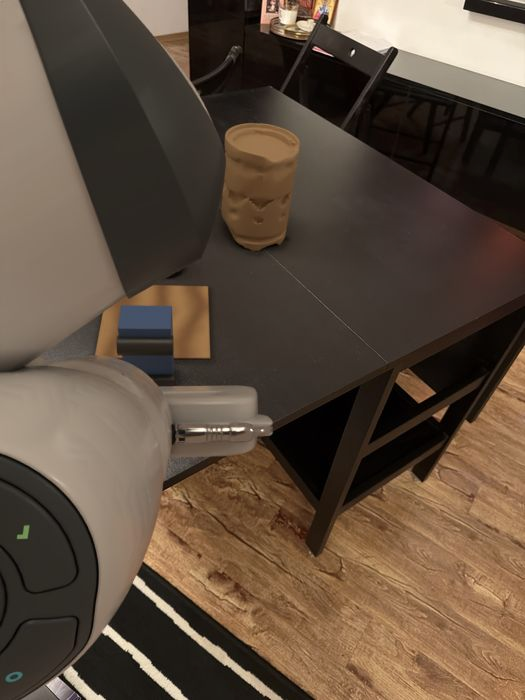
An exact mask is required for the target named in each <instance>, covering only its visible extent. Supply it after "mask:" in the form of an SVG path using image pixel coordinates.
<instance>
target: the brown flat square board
mask: <svg viewBox="0 0 525 700" xmlns="http://www.w3.org/2000/svg"><path fill="white" fill-rule="evenodd" d="M121 305H141V306H172V320H173V339H174V360H210V359H211V341H210V340H211V338H210V337H211V336H210V304H209V286H208V285H171V284H170V285H169V284H167V285H166V284H164V285H163V284H155V285H153V286H151V287H149V288H147V289H146V290H144V291H142V292H140V293H139V294H137V295H135V296H133V297H132V298H130V299H128V297H127V296H126V297H124V298H123V299H121V300H120V301H119V302H117V303H116V304H114V305H113V306H111V307H110V308H109V309H107V310H106V311H104V312H103V313H102V316H101V322H100V326H99V327H100V328H99V331H98V338H97V342H96V347H95V353H94V355H99V356H108V357H113V358H117V359H120V360H123V359H122V355H118V354H117V347H116V343H117V336H118V335H119V334H118V323H119V316H120V309H121Z"/></svg>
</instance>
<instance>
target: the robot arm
mask: <svg viewBox="0 0 525 700" xmlns="http://www.w3.org/2000/svg"><path fill="white" fill-rule="evenodd" d="M225 153H226V151H225V147H224V145H223V143H222V141H221V138H220V136H219V133H218V131H217V129H216V127H215V125H214V122H213V120H212V118H211V116H210V113H209V111H208V109H207V107H206V105H205V102H204V101H203V99H202V98H201V95H200V94H199V91H198V90H197V88H196V87H195V85H194V84H193V83H192V81H191V80H190V77H189V76H188V75H187V74H186V72H185V71H184V70H183V68H182V67H181V66H180V64H179V63H178V61H177V60H176V59H175V58H174V57H173V56H172V54H171V53H170V52H169V51H168V50H167V49H166V48H165V47H164V45H163V44H162V43H161V42H160V41H159V40H158V39H157V38H156V37H155V36H154V35H153V33H152V32H151V31H150V30H149V29H148V27H147V26H146V25H145V23H143V21H142V20H141V19H140V18H139V17H138V16H137V15H136V13H135V12H134V11H133V10H132V9H131V8H130V6H129V5H128V4H127V3H126V2H125V0H0V700H24V699H25V698H27V697H28V696H30V695H32V694H34V693H35V692H37V691H38V690H40V689H41V688H44V687H45V686H47V685H48V684H50V683H51V682H53V681H54V680H55V679H57V678H58V677H59V676H61V675H62V674H64V673H65V672H66V671H67V670H68V669H70V668H71V667H72V666H73V665H74V664H75V663H76V662H77V661H78V660H80V658H81V657H83V656H84V655H85V654H86V653H87V651H88V650H89V649H90V648H91V647H92V646H93V644H95V642H96V641H97V640H98V639H99V638H100V636H101V634H102V633H103V632H104V630H105V629H106V628H107V627H108V625H109V623H110V622H111V620H112V619H113V617H114V616H115V615H116V614H117V612H118V610H119V608H120V607H121V605H122V604H123V602H124V600H125V598H126V596H127V595H128V593H129V591H130V589H131V587H132V585H133V583H134V581H135V579H136V577H137V575H138V573H139V571H140V569H141V567H142V566H143V562H144V560H145V557H146V555H147V553H148V550H149V547H150V544H151V541H152V538H153V534H154V531H155V528H156V524H157V521H158V516H159V511H160V508H161V503H162V496H163V488H164V482H165V478H166V476H167V473H168V472H167V471H168V468H169V462H170V459H177V458H179V459H180V458H181V459H182V458H204V457H205V458H207V457H208V458H209V457H228V456H238V455H243V454H247V453H250V452H252V451H253V450H254V448H255V447H256V445H257V442H258V437H270V436H271V435H273V433H274V430H275V425H274V421H273V420H272V418H270V417H269V416H268V415H265V414H260V413H259V409H258V408H259V402H258V401H259V399H258V398H259V397H258V392H257V390H256V388H255V387H252V386H248V385H175V386H160V387H158V385H157V384H156V383H155V382H154V381H153V380H152V379H151V378H150V377H149V376H148V375H147V374H146V373H144V372H143V371H142V370H140V369H139V368H137V367H136V366H134V365H132V364H130V363H128V362H125V361H123V359H117V358H113V357H108V356H99V355H95V354H94V355H93V354H90V355H80V356H75V357H69V358H65V359H61V360H53V361H52V360H47V359H44V358H43V357H41V356H42V355H44V354H45V353H46V352H48V351H50V350H51V349H52V348H54V347H55V346H57V345H58V344H60V343H62V342H63V341H64V340H66V339H67V338H68V337H69V336H71V335H73V334H74V333H76V332H77V331H79V330H80V329H81V328H83V327H84V326H85V325H87V324H88V323H90V322H92V321H93V320H94V319H96V318H97V317H98V316H100V315H101V314H103V312H104V311H106V310H107V309H109V308H110V307H111V306H113V305H114V304H116V303H117V302H119V301H120V300H121V299H123V298H124V297H126V296H127V297H128V299H130V298H132V297H133V296H135V295H137V294H139V293H140V292H142V291H144V290H146V289H147V288H149V287H151V286H153V285H157V284H158V283H160V282H162V281H163V280H165V279H168V278H169V277H171V276H172V275H174V274H176V273H179V270H181V271H182V270H183V269H185V268H187V267H188V266H190V265H191V264H193V263H196V262H197V261H199V260H200V259H202V257H203V255H204V252H205V250H206V249H207V246H208V243H209V240H210V238H211V236H212V233H213V229H214V226H215V224H216V220H217V216H218V213H219V210H220V205H221V202H222V197H223V195H222V192H223V186H224V178H225V169H226V156H225Z"/></svg>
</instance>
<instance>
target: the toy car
mask: <svg viewBox="0 0 525 700" xmlns="http://www.w3.org/2000/svg"><path fill="white" fill-rule="evenodd" d="M118 334H119V335H118V336H117V343H116V347H117V354H118V355H122V359H121V360H123V361H125V362H128V363H130V364H132V365H134V366H136V367H137V368H139V369H140V370H142V371H143V372H144V373H146V374H147V375H148V376H149V377H150V378H151V379H152V380H153V381H154V382H155V383H156V384H157V385H158V387H160V386H176V372H175V370H176V369H175V359H174V339H173V320H172V306H141V305H121V309H120V316H119V323H118Z"/></svg>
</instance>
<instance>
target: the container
mask: <svg viewBox="0 0 525 700" xmlns="http://www.w3.org/2000/svg"><path fill="white" fill-rule="evenodd" d="M300 148H301V141H300V139H299V138H298V136H297V135H296V134H294V133H293V132H291V131H290V130H288V129H285V128H283V127H280V126H277V125H273V124H268V123H255V122H248V123H247V122H246V123H241V124H236V125H234V126H232V127H230V128H228V129H227V131H226V132H225V135H224V152H225V156H226V169H225V178H224V185H223V191H222V199H221V217H222V219H223V221H224V222H225V224H226V226H227V228H228V229H229V232H230V233H231V235H232V238H233V240H234V241H235V242H236V243H238V245H241V246H243V248H245V249H249V250H250V251H253V252H256V251H257V252H259V251H261V250H262V249H264V248H266V247H268V246H271V245H274V244H276V245H278V246H280V245H282V243H283V241H284V240H285V238H286V234H287V227H288V222H289V216H290V210H291V204H292V198H293V190H294V186H295V180H296V174H297V167H298V158H299V155H300Z"/></svg>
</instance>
